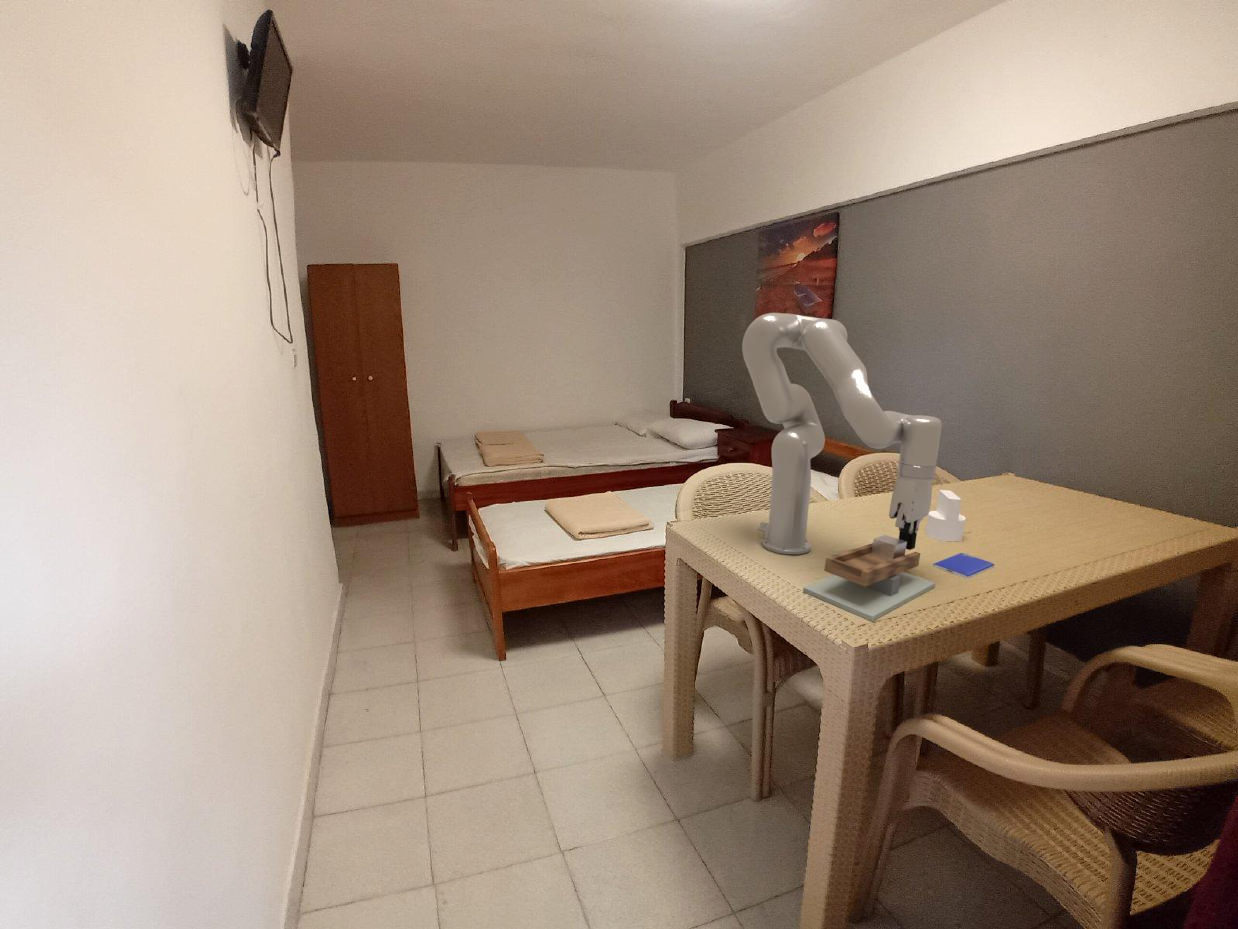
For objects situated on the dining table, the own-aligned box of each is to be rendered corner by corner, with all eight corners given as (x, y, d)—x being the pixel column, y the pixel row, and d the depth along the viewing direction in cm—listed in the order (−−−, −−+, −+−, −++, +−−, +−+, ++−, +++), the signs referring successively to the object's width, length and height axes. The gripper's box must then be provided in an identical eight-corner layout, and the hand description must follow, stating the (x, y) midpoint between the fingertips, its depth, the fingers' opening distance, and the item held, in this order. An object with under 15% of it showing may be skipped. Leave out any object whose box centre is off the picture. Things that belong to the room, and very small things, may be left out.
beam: (878, 552, 139) (880, 540, 138) (918, 566, 132) (920, 553, 131) (824, 570, 126) (826, 557, 125) (865, 586, 118) (867, 572, 118)
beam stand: (868, 563, 144) (870, 545, 143) (934, 587, 131) (937, 567, 130) (803, 591, 128) (805, 571, 127) (872, 621, 116) (874, 599, 115)
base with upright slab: (967, 543, 158) (974, 500, 155) (930, 540, 160) (937, 498, 157) (955, 532, 166) (962, 491, 164) (921, 529, 168) (927, 489, 165)
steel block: (871, 555, 132) (873, 538, 132) (882, 551, 135) (885, 535, 135) (892, 562, 129) (895, 545, 128) (904, 558, 132) (906, 541, 131)
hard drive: (960, 552, 149) (933, 562, 142) (994, 563, 142) (967, 575, 136) (959, 557, 149) (932, 568, 143) (993, 569, 143) (966, 581, 136)
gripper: (916, 463, 140) (906, 536, 144) (882, 472, 131) (873, 549, 135) (949, 469, 134) (937, 545, 138) (916, 479, 125) (905, 560, 129)
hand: (906, 547), depth 137 cm, fingers closed
